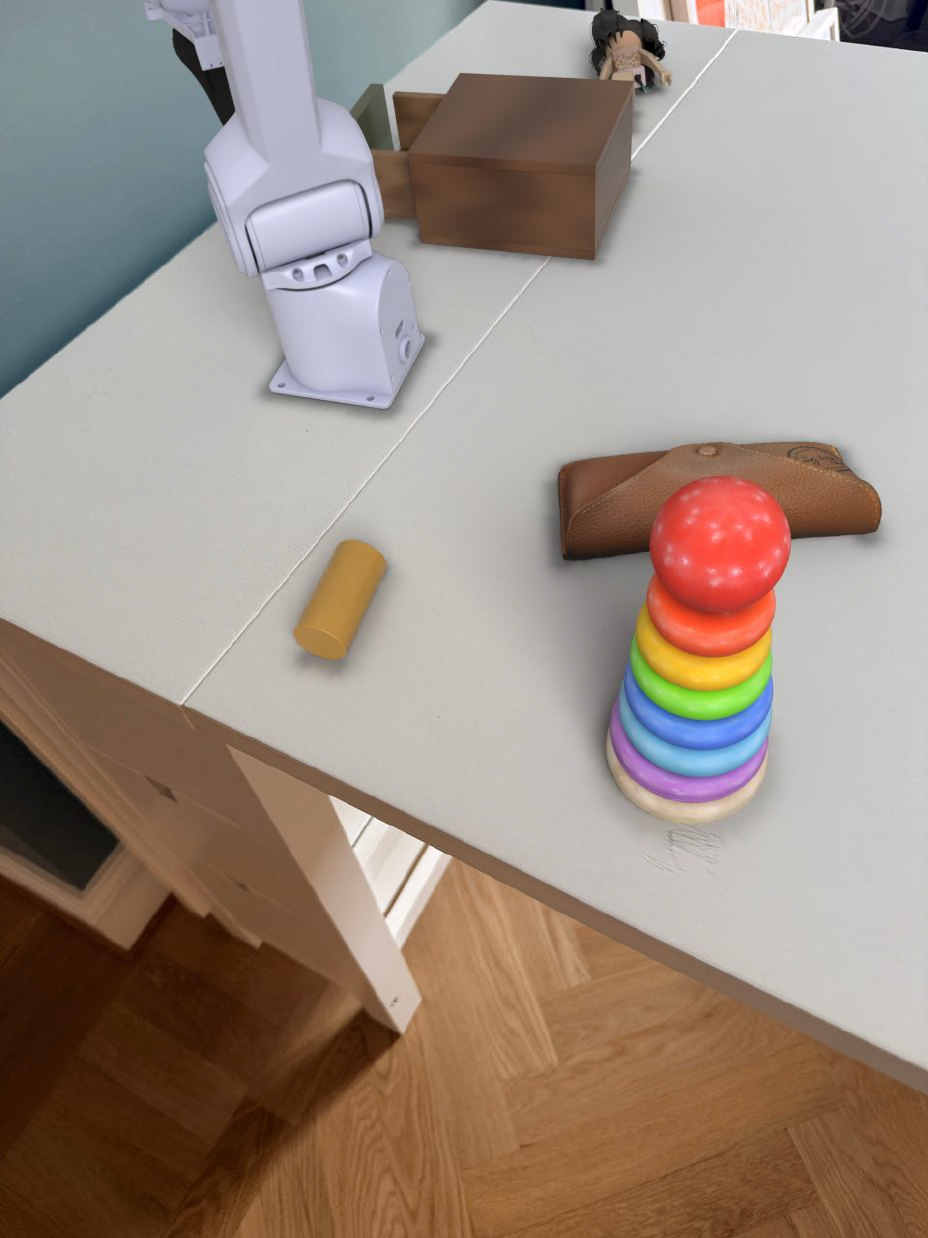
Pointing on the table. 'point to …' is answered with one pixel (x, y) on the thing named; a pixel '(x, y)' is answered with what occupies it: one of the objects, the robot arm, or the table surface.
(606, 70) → the toy figure
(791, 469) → the sunglasses case
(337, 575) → the yellow cylinder
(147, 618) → the table surface
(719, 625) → the stacking toy
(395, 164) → the drawer
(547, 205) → the cabinet
